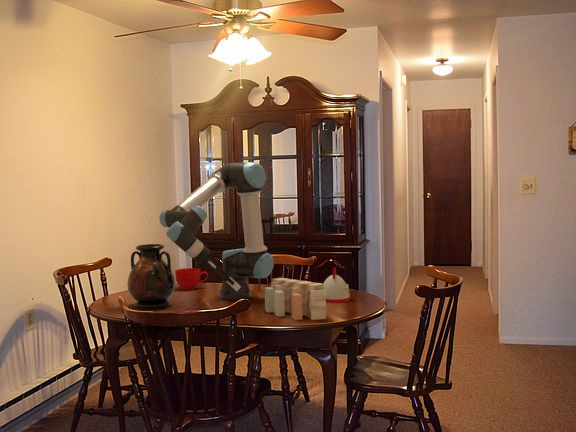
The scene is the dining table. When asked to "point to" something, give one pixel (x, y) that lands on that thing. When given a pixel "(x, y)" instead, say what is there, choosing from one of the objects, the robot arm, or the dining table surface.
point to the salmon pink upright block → (296, 306)
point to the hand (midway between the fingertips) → (238, 288)
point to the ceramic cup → (188, 278)
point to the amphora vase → (151, 277)
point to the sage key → (269, 299)
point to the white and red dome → (336, 289)
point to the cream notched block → (303, 296)
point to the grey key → (279, 303)
